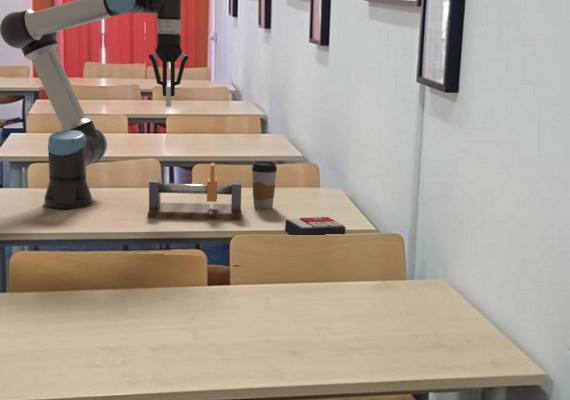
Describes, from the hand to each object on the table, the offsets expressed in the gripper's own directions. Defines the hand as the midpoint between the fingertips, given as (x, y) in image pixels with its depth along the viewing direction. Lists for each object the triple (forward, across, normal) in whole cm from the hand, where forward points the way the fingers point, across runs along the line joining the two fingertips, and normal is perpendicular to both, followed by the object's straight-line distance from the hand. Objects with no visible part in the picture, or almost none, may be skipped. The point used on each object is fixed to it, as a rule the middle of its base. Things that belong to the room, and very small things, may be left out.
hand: (168, 106), depth 268 cm
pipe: (+31, +10, -14) cm, 35 cm away
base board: (+32, +10, -14) cm, 37 cm away
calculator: (+33, +47, -33) cm, 66 cm away
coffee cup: (+33, +32, -4) cm, 46 cm away
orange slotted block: (+28, +15, -14) cm, 34 cm away
